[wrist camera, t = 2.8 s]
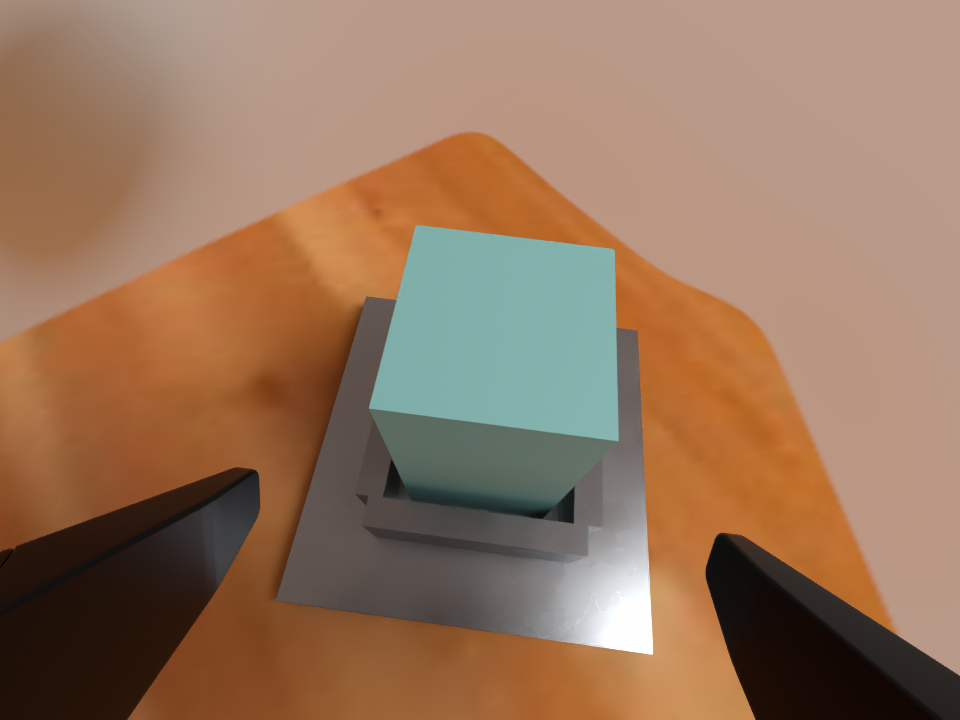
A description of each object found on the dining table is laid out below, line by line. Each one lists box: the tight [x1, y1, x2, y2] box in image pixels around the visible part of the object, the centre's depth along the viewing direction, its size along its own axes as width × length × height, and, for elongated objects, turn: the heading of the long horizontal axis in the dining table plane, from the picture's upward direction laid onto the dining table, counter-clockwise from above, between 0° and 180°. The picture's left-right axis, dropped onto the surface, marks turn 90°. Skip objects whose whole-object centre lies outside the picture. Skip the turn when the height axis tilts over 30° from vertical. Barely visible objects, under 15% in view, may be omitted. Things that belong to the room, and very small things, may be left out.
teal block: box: [369, 225, 619, 518], centre depth 16 cm, size 6×6×10 cm
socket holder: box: [276, 297, 653, 654], centre depth 19 cm, size 14×14×4 cm
